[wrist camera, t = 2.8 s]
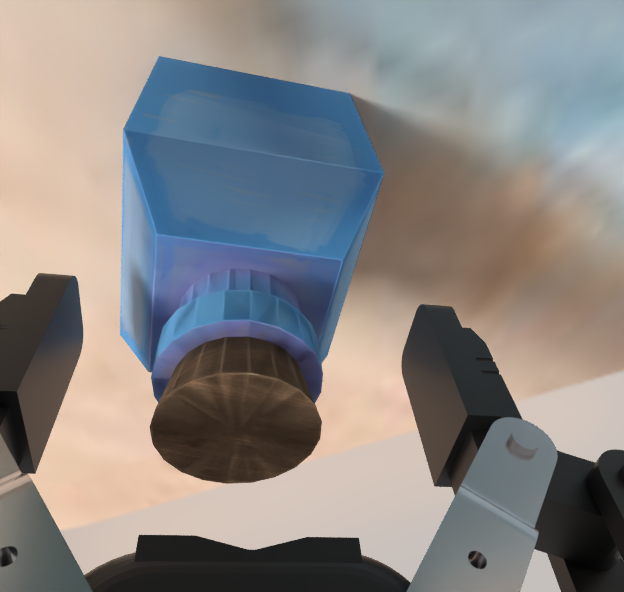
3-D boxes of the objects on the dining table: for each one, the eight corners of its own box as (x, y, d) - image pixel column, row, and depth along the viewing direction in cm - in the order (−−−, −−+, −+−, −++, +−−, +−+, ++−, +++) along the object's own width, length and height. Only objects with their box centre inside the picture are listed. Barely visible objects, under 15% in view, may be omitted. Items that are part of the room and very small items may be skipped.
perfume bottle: (349, 93, 19) (450, 324, 9) (310, 248, 22) (354, 529, 13) (159, 56, 18) (50, 278, 8) (150, 226, 21) (68, 518, 12)
